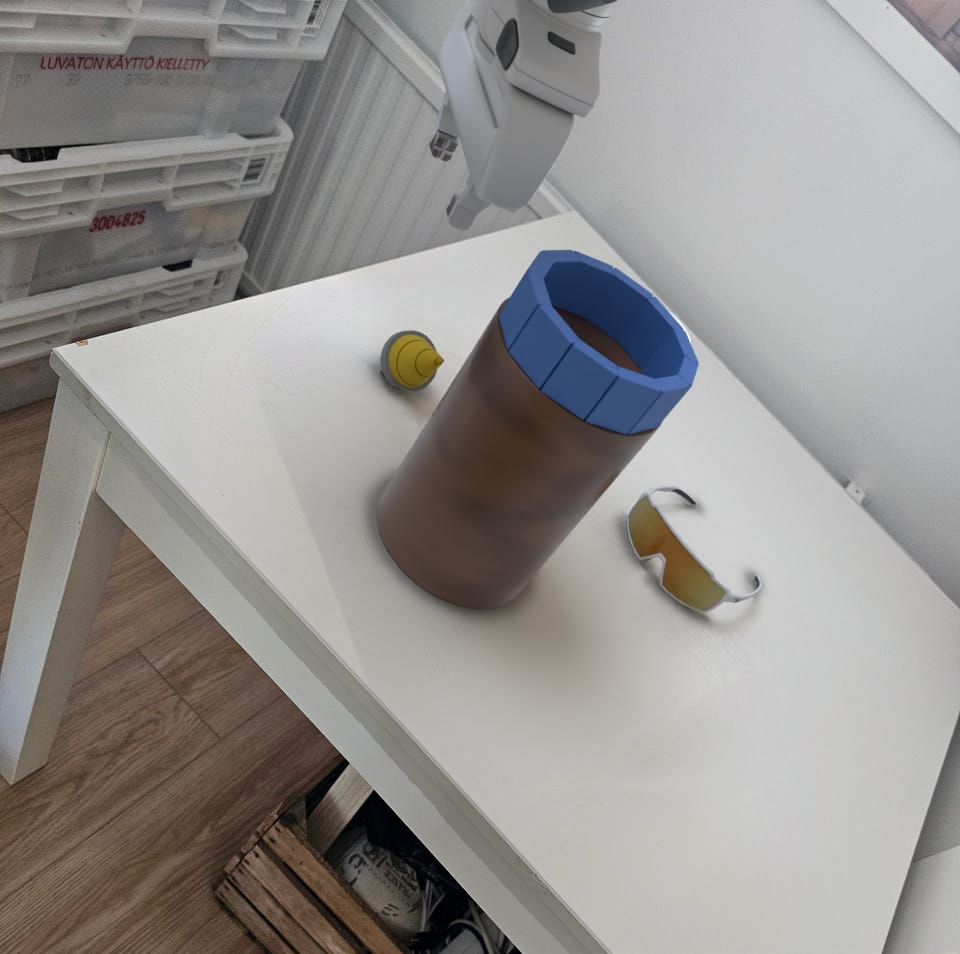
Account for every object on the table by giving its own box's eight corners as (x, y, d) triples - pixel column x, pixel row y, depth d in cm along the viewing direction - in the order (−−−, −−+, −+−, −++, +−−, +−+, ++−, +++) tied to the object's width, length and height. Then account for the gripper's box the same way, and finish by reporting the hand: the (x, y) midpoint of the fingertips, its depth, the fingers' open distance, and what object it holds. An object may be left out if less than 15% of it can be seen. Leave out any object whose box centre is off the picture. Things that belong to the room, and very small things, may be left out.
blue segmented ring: (520, 402, 66) (553, 354, 63) (485, 272, 73) (513, 225, 70) (683, 452, 72) (720, 412, 69) (636, 328, 80) (667, 287, 77)
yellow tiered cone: (427, 377, 99) (479, 377, 90) (381, 400, 97) (429, 402, 89) (407, 322, 97) (458, 317, 88) (359, 345, 95) (406, 342, 86)
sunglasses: (598, 517, 98) (632, 481, 95) (669, 502, 110) (701, 470, 107) (691, 633, 95) (730, 600, 92) (755, 606, 106) (790, 575, 104)
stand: (386, 592, 79) (517, 404, 65) (367, 460, 87) (481, 268, 73) (540, 622, 86) (688, 457, 72) (510, 497, 93) (638, 327, 80)
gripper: (472, -69, 77) (394, 102, 86) (525, 72, 65) (428, 251, 75) (543, -30, 80) (460, 131, 89) (606, 111, 68) (503, 279, 78)
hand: (446, 187), depth 82 cm, fingers open, 8 cm apart
